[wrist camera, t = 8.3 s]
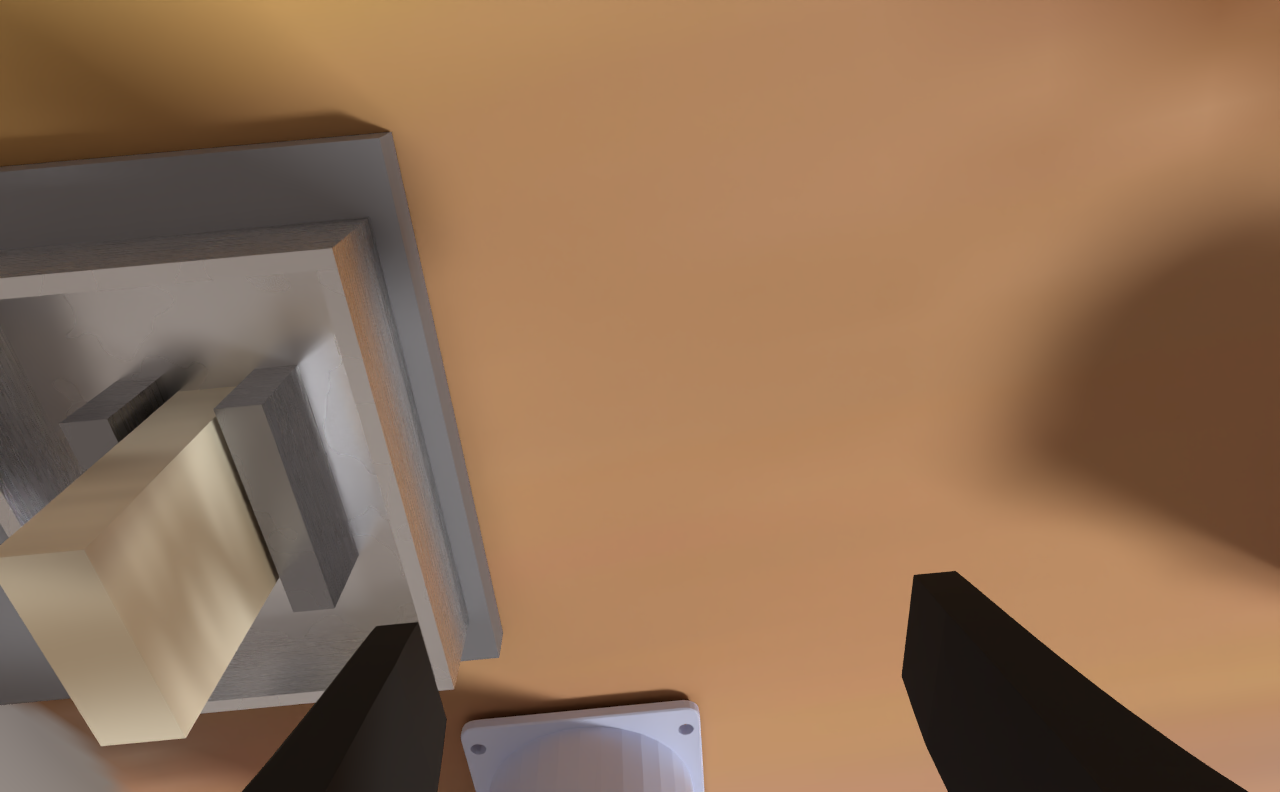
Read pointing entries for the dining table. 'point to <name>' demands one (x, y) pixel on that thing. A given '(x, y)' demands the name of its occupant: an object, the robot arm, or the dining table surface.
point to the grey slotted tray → (246, 424)
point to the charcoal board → (247, 198)
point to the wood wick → (144, 574)
